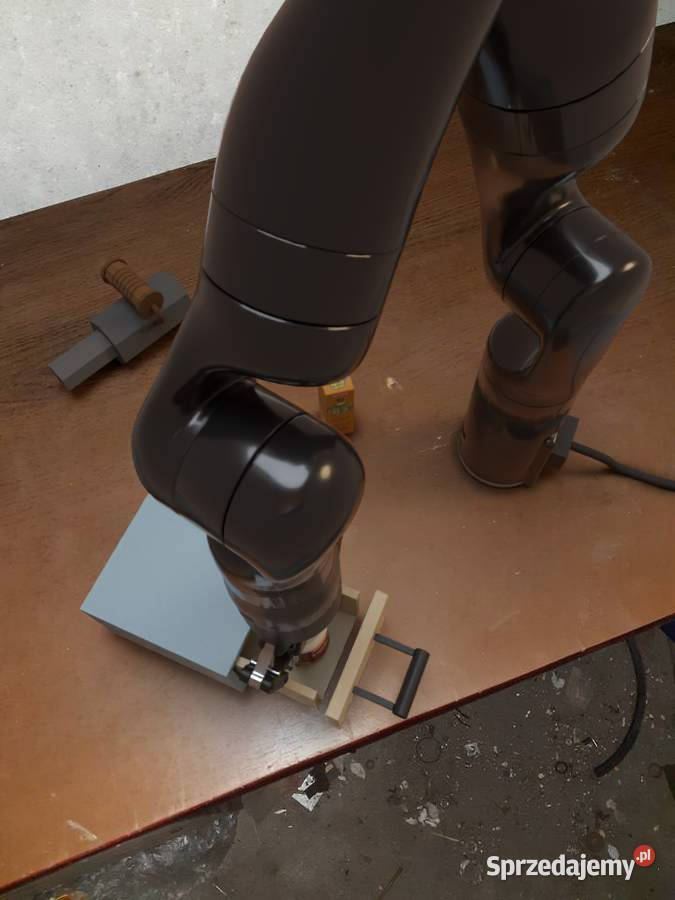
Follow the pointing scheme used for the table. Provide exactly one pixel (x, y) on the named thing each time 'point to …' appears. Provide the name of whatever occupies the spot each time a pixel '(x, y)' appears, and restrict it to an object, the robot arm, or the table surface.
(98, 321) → the mechanical component
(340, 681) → the drawer
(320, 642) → the pill bottle
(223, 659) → the blue drawer cabinet
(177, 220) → the table surface
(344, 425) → the supplement box
